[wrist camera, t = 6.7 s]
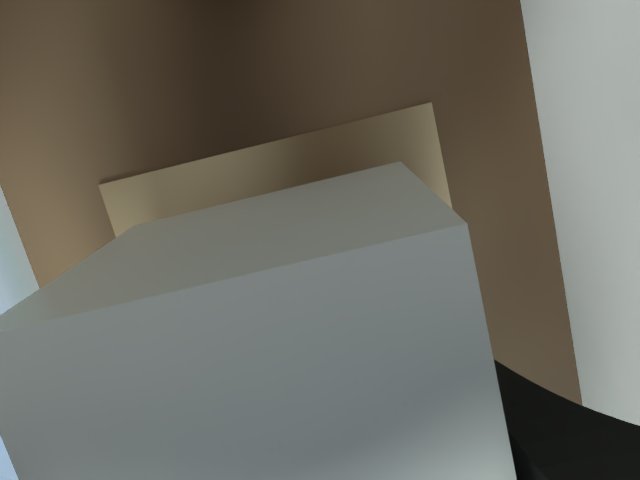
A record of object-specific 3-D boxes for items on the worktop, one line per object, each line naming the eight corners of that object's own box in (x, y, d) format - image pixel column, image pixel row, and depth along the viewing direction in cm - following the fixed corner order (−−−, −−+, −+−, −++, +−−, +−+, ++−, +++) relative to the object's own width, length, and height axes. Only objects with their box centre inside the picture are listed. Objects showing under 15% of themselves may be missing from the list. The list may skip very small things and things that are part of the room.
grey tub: (400, 161, 12) (467, 223, 6) (481, 537, 14) (588, 850, 8) (134, 225, 12) (-38, 341, 7) (249, 582, 14) (196, 913, 9)
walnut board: (406, -617, 11) (415, -691, 10) (584, 496, 17) (602, 524, 16) (-197, -415, 12) (-249, -465, 11) (169, 578, 18) (159, 610, 16)
